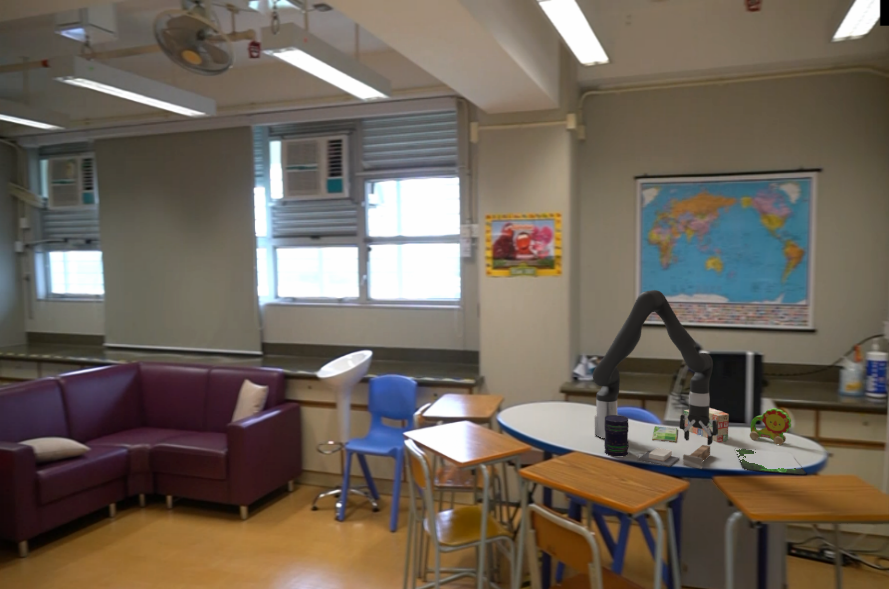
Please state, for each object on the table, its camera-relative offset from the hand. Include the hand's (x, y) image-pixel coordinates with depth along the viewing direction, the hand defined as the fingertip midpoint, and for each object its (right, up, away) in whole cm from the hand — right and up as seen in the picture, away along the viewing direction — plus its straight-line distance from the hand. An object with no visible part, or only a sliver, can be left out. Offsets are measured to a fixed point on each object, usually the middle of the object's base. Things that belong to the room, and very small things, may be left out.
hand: (698, 442), depth 244 cm
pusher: (+1, -8, +2) cm, 8 cm away
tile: (-11, -6, +8) cm, 15 cm away
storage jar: (-29, -8, +13) cm, 33 cm away
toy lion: (+41, -5, +22) cm, 47 cm away
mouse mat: (+28, -8, -1) cm, 29 cm away
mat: (-15, -8, +3) cm, 17 cm away
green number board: (-1, -6, +35) cm, 36 cm away
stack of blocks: (+17, -5, +34) cm, 39 cm away
